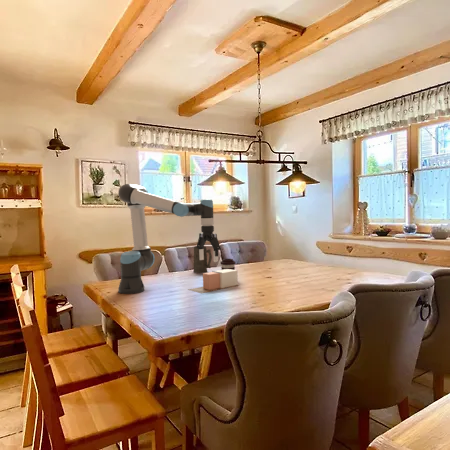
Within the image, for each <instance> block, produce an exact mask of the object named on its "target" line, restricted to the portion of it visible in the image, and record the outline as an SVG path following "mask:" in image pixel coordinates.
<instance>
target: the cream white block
mask: <svg viewBox="0 0 450 450" xmlns="http://www.w3.org/2000/svg"><path fill="white" fill-rule="evenodd" d="M213 271H214V272H219V273H220V288H225V287H229V286H234V285H239V283H238V279H239V278H238V270H237V269H235V270H232V269H224V270H222V269H220V270H219V269H218V270H212V271H211V272H213Z"/></svg>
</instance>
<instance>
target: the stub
mask: <svg viewBox="0 0 450 450" xmlns="http://www.w3.org/2000/svg"><path fill="white" fill-rule="evenodd" d="M212 271H213V272H212ZM212 271H210V272H209V271H208V272H204V273H202V287H203V288H204V289H208V290H211V289H216V288H220V273H219V272H214V271H215V270H212Z"/></svg>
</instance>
